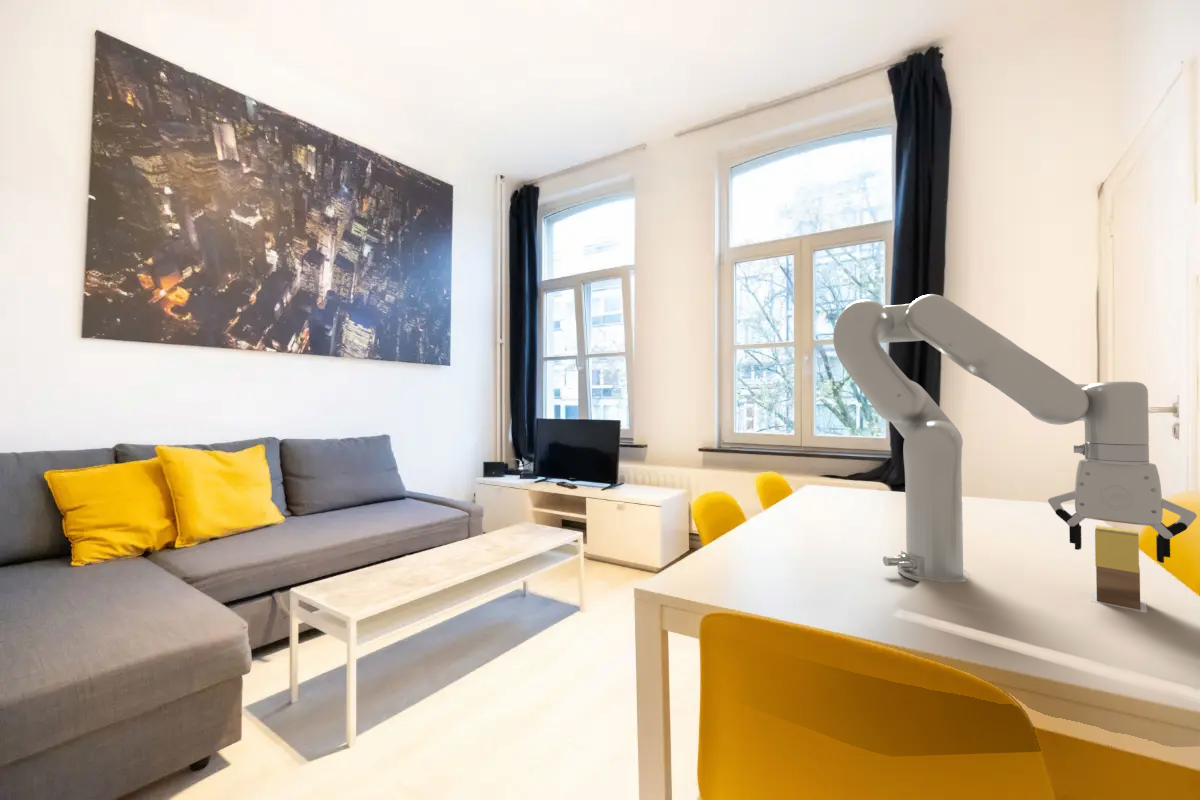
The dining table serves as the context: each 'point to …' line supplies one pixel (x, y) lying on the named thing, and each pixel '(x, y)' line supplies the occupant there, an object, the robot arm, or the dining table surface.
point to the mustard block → (1117, 548)
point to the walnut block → (1118, 587)
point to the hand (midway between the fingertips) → (1117, 554)
